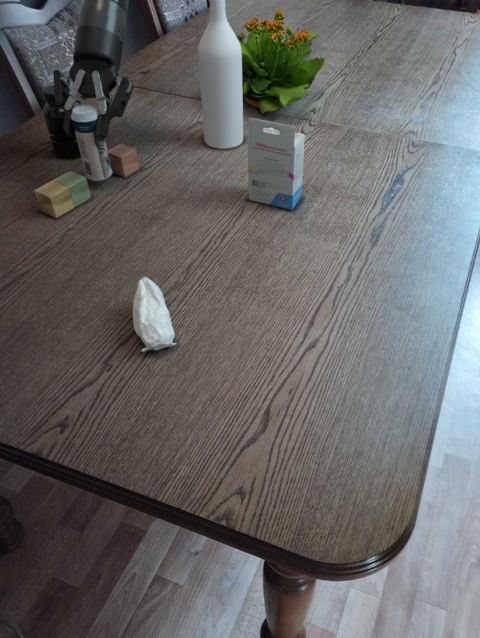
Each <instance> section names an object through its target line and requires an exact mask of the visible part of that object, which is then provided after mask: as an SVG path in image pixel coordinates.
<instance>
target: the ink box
mask: <svg viewBox="0 0 480 638" xmlns="http://www.w3.org/2000/svg"><path fill="white" fill-rule="evenodd" d="M247 124H248V125H247V127H248V135H247V162H248V163H247V164H248V166H247V167H248V172H247V173H248V175H247V176H248V200H249V201H252V202H257V203H260V204H264V205H268V206H269V205H270V206H273V207H276V208H281V209H285V210H290V211H293V209H294V208H295V207H296V206H297V204H298V202H299V201H300V200H301V198H302V196H303V195H302V193H303V175H304V158H305V140H306V134H305V133H300V132H296V131H297V130H296V126H295V125H289V124H285V123H284V124H283V123H280V122H274V121H270V120H263V119H258V118H253V117H249V118H248V120H247Z"/></svg>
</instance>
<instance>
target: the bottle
mask: <svg viewBox="0 0 480 638" xmlns="http://www.w3.org/2000/svg"><path fill="white" fill-rule="evenodd" d="M197 59H198V73H199V75H198V76H199V88H200V89H199V90H200V100H201V102H200V103H201V114H202V127H203V128H202V129H203V140H204V143H205V144H206V145H207V146H209V147H211V148H214V149H220V150H228V149H232V148H237V147H238V146H240V145H242V143H243V142H244V103H243V101H244V95H243V88H242V51H241V45H240V43H239V41H238V39H237V34H235V32H234V30H233V28H232V26H231V25H230V23H229V21H228V19H227V10H226V0H209V21H208V23H207V26H206V27H205V29H204V31H203V33H202V35H201V38H200V41H199V42H198V46H197Z"/></svg>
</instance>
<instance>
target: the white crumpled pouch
mask: <svg viewBox="0 0 480 638" xmlns="http://www.w3.org/2000/svg"><path fill="white" fill-rule="evenodd" d="M136 287H137V288H136V291H135V292H134V293H135V294H134V297H133V302H132V304H133V305H132V321H133V322H132V323H133V329H134V332H135V334H136V335H137V336H138V337H139V338H140V340H141V342H142V343H143V344H144V346H145V347H144V348H142V349H141V352H142V353H143V352H146V351H151V350H153V351H160V350H162V349H165V348H171V347H174V346H176V345H177V342H174V339H175V336H176V334H175V331H174V327H173V323H172V319H171V315H170V311H169V309H168V307H167V305H166V304H167V303H166V301H165V296H164V295H163V292H162V290H161V288H160V286H158V285H157V284H156V283H155V282H154V281H153V280H151V279H150V278H149V277H146V276H145V275H143V277H142V278H141V279H139V280H138V284H137V286H136Z"/></svg>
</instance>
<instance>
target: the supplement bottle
mask: <svg viewBox="0 0 480 638" xmlns="http://www.w3.org/2000/svg"><path fill="white" fill-rule="evenodd" d="M70 89H71V87H70V86H68V96H69V91H70ZM42 91H43V96H44V100H45V104H44V106H43V108H42V113H43V118H44V120H45V124H46V128H47V131H48V135H49V138H50V142H51V146H52V149H53V152H54V154H55V155H56V156H57V157H60V158H63V159H75V158H78V157H81V154H80V150H79V146H78V142H77V138H76V134H75V137H74V138H73V137H69V136H68V135H66V134H65V131H64V130H63V124H64V117H65V111H64V110H63V109H62V108H60V107H59V106H58V105H57V104H56V103H55V91H54V84H51V85H48V86H46V87H44V88H43V90H42Z"/></svg>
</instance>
